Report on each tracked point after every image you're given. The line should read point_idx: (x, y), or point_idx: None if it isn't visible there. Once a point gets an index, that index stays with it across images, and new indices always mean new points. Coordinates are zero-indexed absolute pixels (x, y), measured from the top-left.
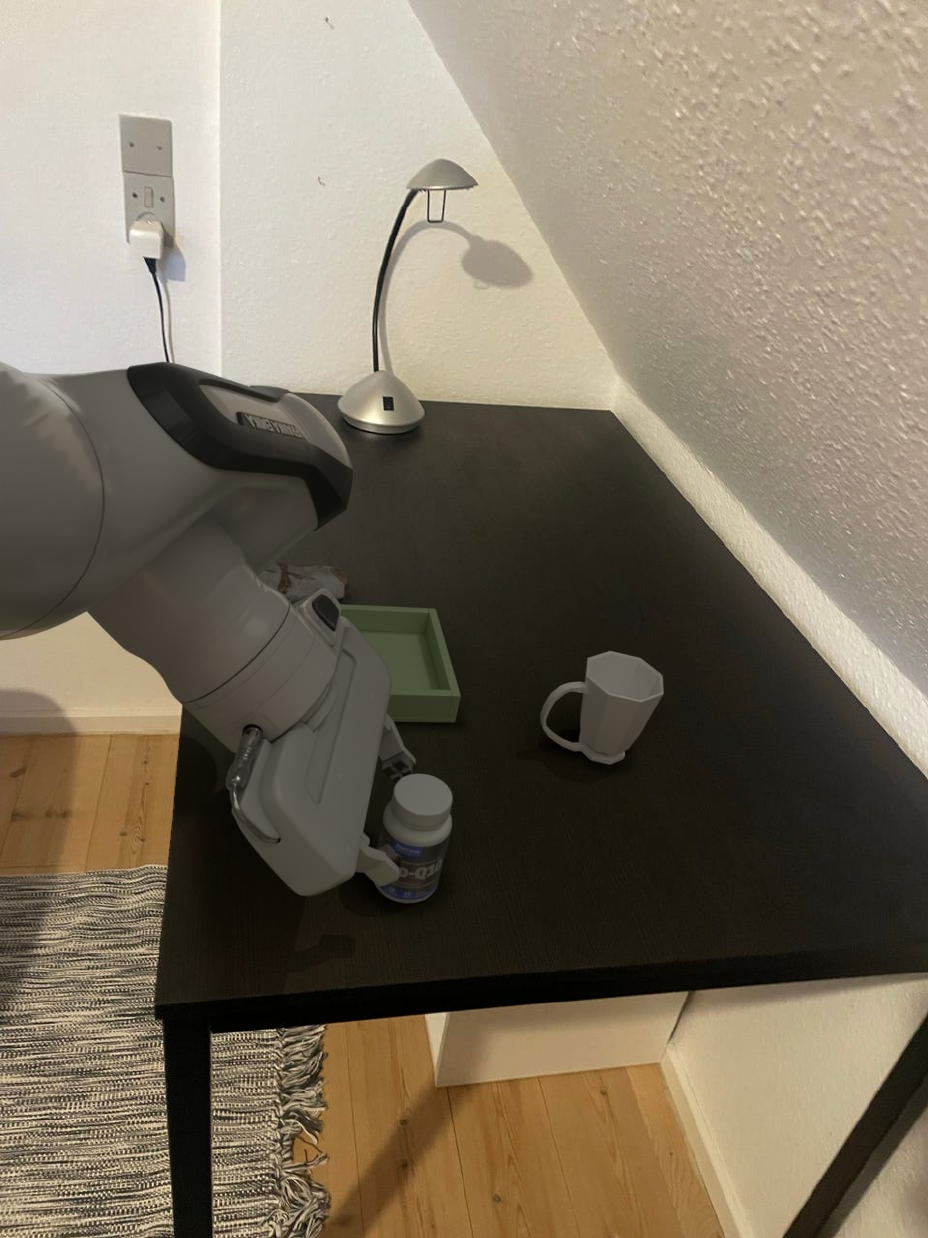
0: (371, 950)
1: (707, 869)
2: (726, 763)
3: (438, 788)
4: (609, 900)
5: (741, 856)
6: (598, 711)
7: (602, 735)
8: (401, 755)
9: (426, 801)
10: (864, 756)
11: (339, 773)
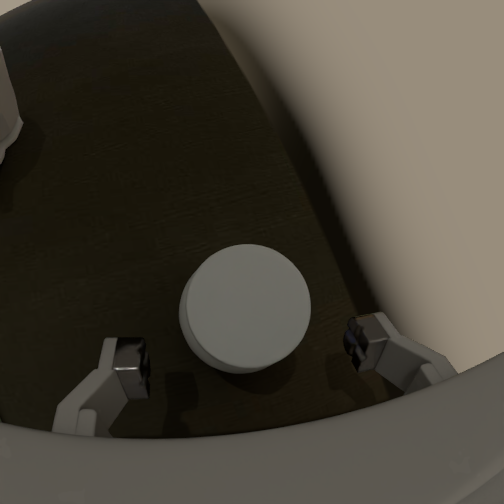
0: (334, 335)
1: (146, 52)
2: (34, 53)
3: (223, 276)
4: (197, 112)
5: (130, 37)
6: None
7: (5, 112)
8: (125, 370)
9: (272, 294)
10: (43, 4)
11: (458, 471)
